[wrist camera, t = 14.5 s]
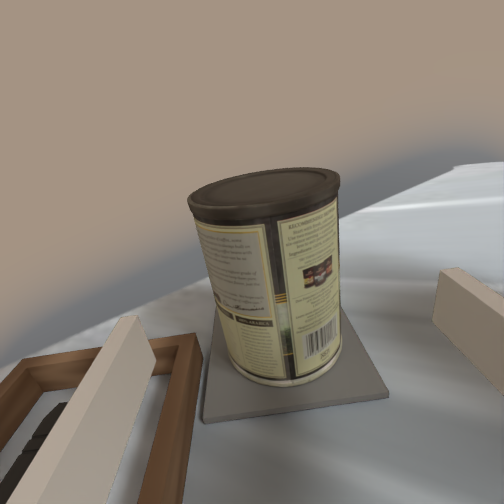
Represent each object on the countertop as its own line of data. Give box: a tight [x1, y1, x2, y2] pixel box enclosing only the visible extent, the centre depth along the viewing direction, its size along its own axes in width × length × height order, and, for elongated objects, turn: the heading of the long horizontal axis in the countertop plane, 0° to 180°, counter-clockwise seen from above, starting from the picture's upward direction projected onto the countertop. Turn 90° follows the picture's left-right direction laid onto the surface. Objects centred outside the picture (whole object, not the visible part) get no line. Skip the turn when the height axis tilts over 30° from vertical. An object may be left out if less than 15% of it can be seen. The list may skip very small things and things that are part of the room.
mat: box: [203, 306, 389, 424], centre depth 25 cm, size 13×13×1 cm
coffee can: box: [187, 167, 342, 387], centre depth 22 cm, size 10×10×14 cm
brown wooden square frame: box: [0, 333, 203, 504], centre depth 18 cm, size 15×15×3 cm
